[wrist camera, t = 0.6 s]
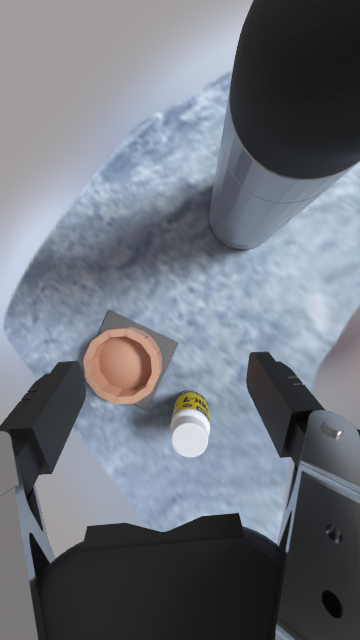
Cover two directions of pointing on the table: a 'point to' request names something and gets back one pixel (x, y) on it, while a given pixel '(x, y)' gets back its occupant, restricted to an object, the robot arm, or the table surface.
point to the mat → (163, 342)
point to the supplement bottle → (190, 424)
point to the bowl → (123, 365)
